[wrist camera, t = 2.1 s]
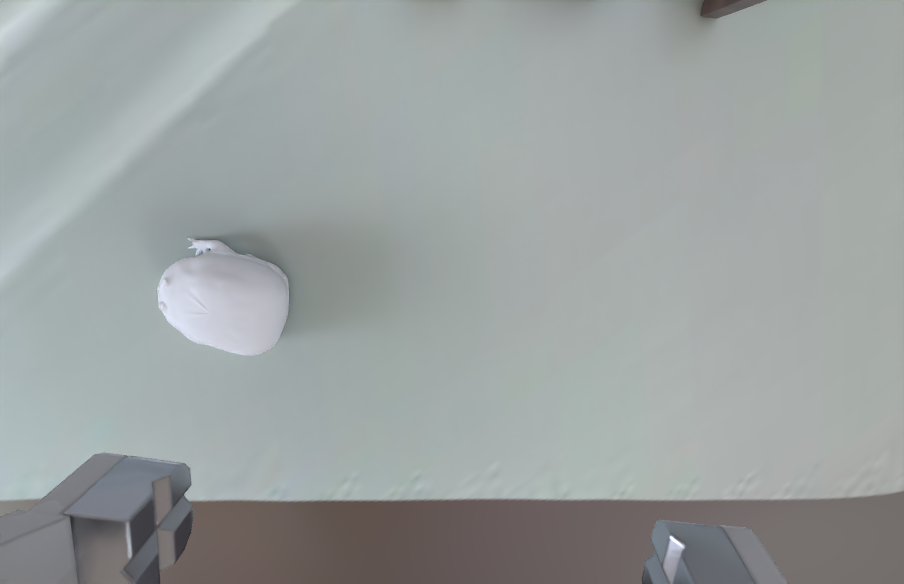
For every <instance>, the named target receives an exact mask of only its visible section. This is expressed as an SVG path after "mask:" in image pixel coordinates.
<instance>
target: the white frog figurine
mask: <svg viewBox="0 0 904 584" xmlns="http://www.w3.org/2000/svg"><path fill="white" fill-rule="evenodd" d="M187 239H188V240H190V241H191V242H192V243H193V245H192V246H190V247H188V248H189V249H190V248H197V252H196V256H195V257H187V258H183V259H180V260H178V261H177V262H175V263H174V264H172V265H171V266H170V267H168V268H167V269H166V271H165V272H164V273H163V275H162V277H161V279H160V284H159V285H158V287H157V289H158V290H157V294H158V302H159V305H158V307H159V309H162V311H163V313H164V315H165V317H166V319H167V320H168V322H169V323H170V324H171V325H172V326H174V327H175V328H177V329H178V330H179V331H180V332H181V333H182V334H184V335H185V336H186V337H187V338H188V339H190V340H191V341H193V342H195V343H198V344H203V345H210V346H213V347H215V348H218V349H221V350H225V351H228V352H232V353H235V354H239V355H258V354H261V353H264V352H266V351H268V350H270V349H271V348H273V347H274V346H275V345H276V343H277V342H278V340H279V338H280V335H281V333H282V330H283V328H284V325H285V323H286V320H287V317H288V311H289V284H288V279H287V277H286V275H285V274H284V273H283V272H282V270H281V269H280V268H279V267H278V266H276V265H274V264H272V263H270V262H267V261H264V260H261V259H258V258H256V257H254V256H252V255H250V254H248V253H246V255H247V256H245V255H240V254H237V253H236V252H234V251H233V250H231V249H230V248H229V247H228V246H226V245H225V244H224V243H222V242H221V241H218V240H195V239H192V238H187ZM209 248H210V249H211V250H210V251H209V252H208V249H209ZM202 250H203V252H204V254H202V255H199V254H200V252H201V251H202ZM198 255H199V256H198Z"/></svg>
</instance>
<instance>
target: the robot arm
mask: <svg viewBox="0 0 904 584" xmlns="http://www.w3.org/2000/svg"><path fill="white" fill-rule="evenodd" d="M190 486H191V474H190V468H189V467H188V466H187V465H186V464H185V463H178V462H171V461H164V460H157V459H150V458H143V457H136V456H127V455H120V454H111V453H99V454H95V455H93V456H92V457H91V458H90V459H89V460H87V461H86V462H85V463H84V464H83V465H81V466H80V467H79V468H78V469H77V470H75V471H74V472H73V473H72V474H71V475H70V476H68V477H67V478H66V479H65V480H64V481H62V482H61V483H60V484H59V485H58V486H56V487H55V488H54V489H53V490H52V491H51V492H49V493H48V494H47V495H46V496H45V497H43V498H42V499H41V500H40V501H39V502H37V503H36V504H35V505H34V506H33V507H32V508H30V509H29V510H28V511H26V510H16V511H14V512H11V513H8V514H5V515H3V516H0V584H160V572H161V571H163V570H165V569H166V568H168V567H170V566H172V565H174V564H175V563H176V561H177V560H178V558H179V557H180V555H181V554H182V552H183V551H184V549H185V546H186V544H187V541H188V539H189V536H190V534H191V528H192V521H193V507H192V506H191V504H190V503H189V501H188V500H187V499H186V497H185V496H184V494H185V492H186V491H187V490H188V488H189V487H190ZM651 541H652V544H653V547H654V549H655V553H654V554H653V555H652V556H651V557H649V558H648V559H647V560H646V561H645V566H644V571H643V576H642V584H788V583H787V581H786V580H785V578H784V577H783V575H782V574H781V572H780V570H779V569H778V568H777V566H776V564H775V563H774V561H773V560H772V559H771V557H770V555H769V554H768V552H767V551H766V549H765V548H764V546H763V545H762V543H761V542H760V540H759V539H758V537H757V536H756V534H755V533H754V532H753V531H751V530H750V529H748V528H742V527H731V526H719V525H718V526H710V525H701V524H692V523H683V522H674V521H665V520H658V521H657V522H656V524H655V526H654V528H653V532H652V536H651Z"/></svg>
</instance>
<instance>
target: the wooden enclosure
mask: <svg viewBox="0 0 904 584" xmlns="http://www.w3.org/2000/svg"><path fill="white" fill-rule="evenodd" d="M763 1H766V0H704V3H703V7H702V12H701V16H702V17H710V18H720V17H722V16H725V15H728V14H731V13H733V12H736V11H739V10H742V9H744V8H747V7H750V6H752V5H755V4H758V3H761V2H763Z"/></svg>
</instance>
